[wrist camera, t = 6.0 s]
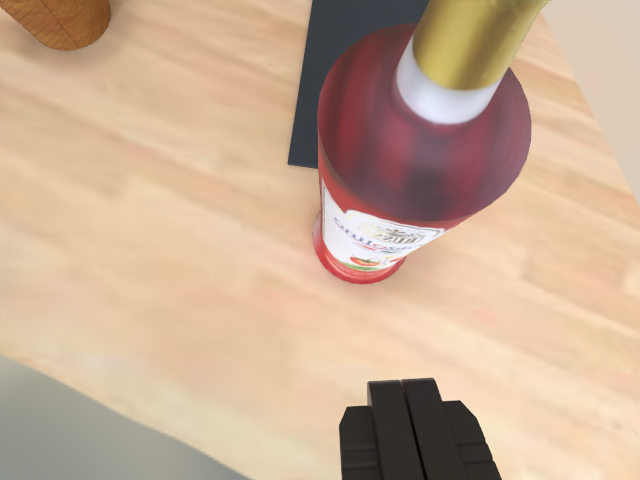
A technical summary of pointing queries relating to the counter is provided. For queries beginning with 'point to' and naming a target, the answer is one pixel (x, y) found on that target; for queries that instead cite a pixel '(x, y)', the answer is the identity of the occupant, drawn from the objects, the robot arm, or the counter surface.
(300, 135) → the mat
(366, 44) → the liquor
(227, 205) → the counter surface
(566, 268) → the counter surface
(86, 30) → the disposable coffee cup
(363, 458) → the robot arm
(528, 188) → the counter surface
